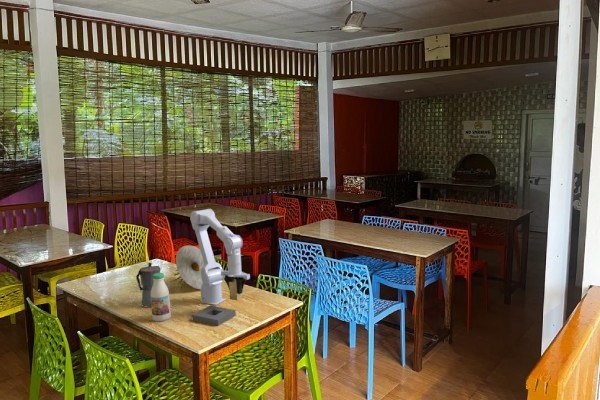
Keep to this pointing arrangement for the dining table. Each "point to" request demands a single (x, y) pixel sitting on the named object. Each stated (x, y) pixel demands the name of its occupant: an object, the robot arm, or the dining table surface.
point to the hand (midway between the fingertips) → (236, 292)
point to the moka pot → (147, 282)
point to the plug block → (234, 291)
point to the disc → (190, 266)
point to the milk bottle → (160, 299)
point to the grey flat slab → (209, 312)
